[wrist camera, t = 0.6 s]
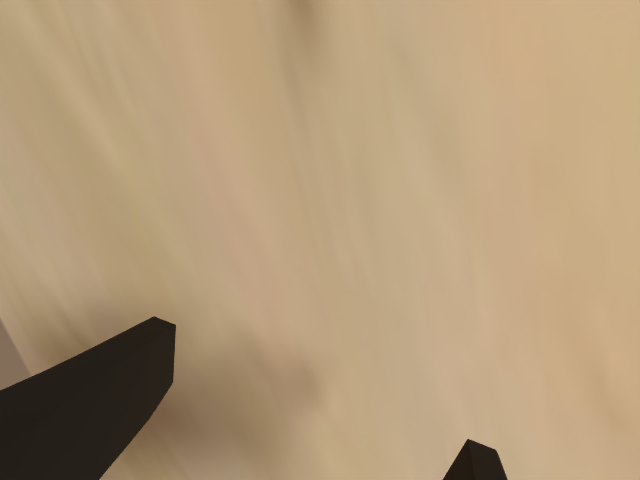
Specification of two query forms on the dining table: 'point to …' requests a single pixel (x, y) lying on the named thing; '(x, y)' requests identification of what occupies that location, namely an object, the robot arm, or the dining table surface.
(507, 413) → the dining table surface
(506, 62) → the dining table surface
